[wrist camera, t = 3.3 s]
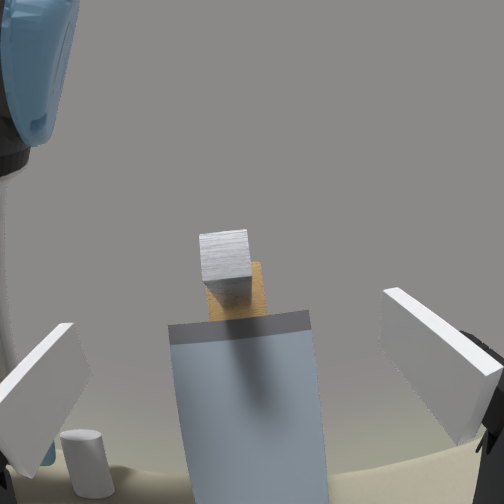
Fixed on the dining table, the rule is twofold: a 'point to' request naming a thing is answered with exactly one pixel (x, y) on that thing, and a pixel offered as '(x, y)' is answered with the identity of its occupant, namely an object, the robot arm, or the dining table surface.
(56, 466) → the dining table surface
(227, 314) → the block
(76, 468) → the white cylinder
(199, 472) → the block
